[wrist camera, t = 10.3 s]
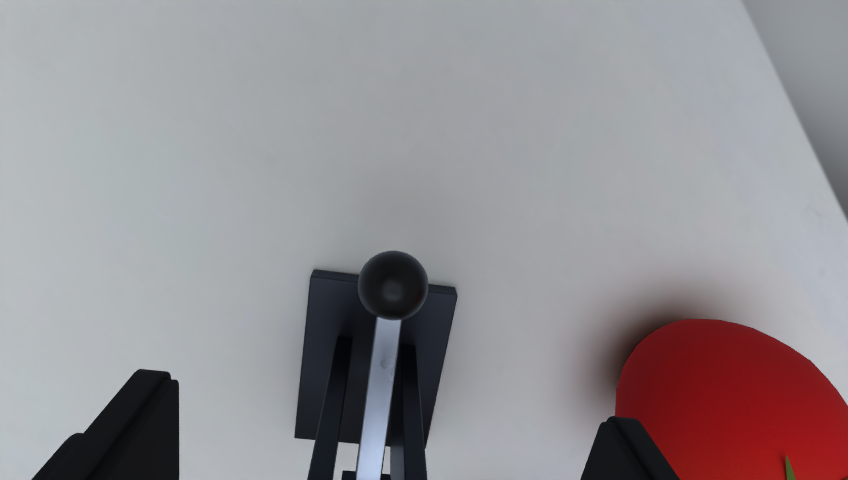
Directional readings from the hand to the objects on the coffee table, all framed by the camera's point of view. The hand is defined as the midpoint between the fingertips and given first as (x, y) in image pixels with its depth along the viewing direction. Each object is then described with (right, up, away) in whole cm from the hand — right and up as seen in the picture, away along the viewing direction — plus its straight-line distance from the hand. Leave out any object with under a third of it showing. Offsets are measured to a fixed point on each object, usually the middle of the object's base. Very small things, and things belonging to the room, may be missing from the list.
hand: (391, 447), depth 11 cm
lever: (-1, -2, +12) cm, 13 cm away
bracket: (-3, -3, +22) cm, 22 cm away
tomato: (+17, -4, +23) cm, 29 cm away
